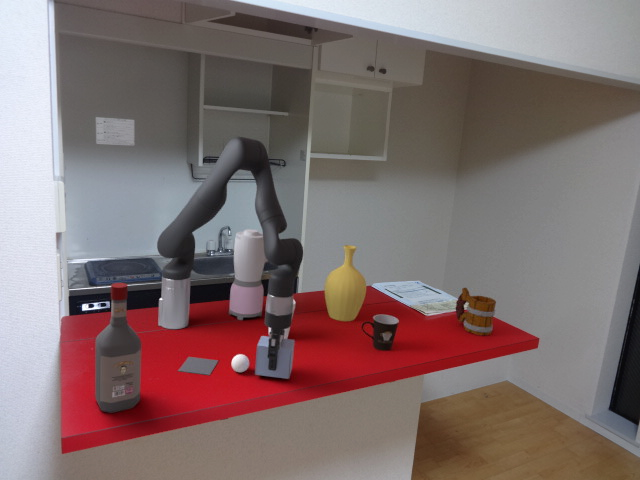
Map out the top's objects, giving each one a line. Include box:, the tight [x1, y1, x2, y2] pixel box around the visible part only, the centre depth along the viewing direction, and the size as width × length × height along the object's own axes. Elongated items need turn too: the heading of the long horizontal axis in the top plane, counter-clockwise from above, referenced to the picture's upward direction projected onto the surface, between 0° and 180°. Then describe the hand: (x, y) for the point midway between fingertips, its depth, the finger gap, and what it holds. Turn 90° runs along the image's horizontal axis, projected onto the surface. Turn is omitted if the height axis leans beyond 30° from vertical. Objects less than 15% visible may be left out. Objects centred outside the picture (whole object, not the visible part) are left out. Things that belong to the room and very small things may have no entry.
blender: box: [228, 228, 269, 321], centre depth 184 cm, size 16×12×32 cm
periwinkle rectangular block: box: [254, 335, 296, 380], centre depth 142 cm, size 10×7×9 cm
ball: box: [231, 353, 250, 373], centre depth 143 cm, size 5×5×5 cm
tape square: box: [177, 356, 219, 376], centre depth 144 cm, size 9×9×1 cm
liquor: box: [94, 282, 142, 414], centre depth 119 cm, size 9×9×30 cm
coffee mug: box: [361, 314, 400, 352], centre depth 170 cm, size 12×9×10 cm
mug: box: [455, 287, 497, 336], centre depth 194 cm, size 11×16×15 cm, turn 41°
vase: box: [324, 244, 367, 322], centre depth 192 cm, size 16×16×28 cm
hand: (274, 363), depth 142 cm, fingers closed on periwinkle rectangular block, 6 cm apart
